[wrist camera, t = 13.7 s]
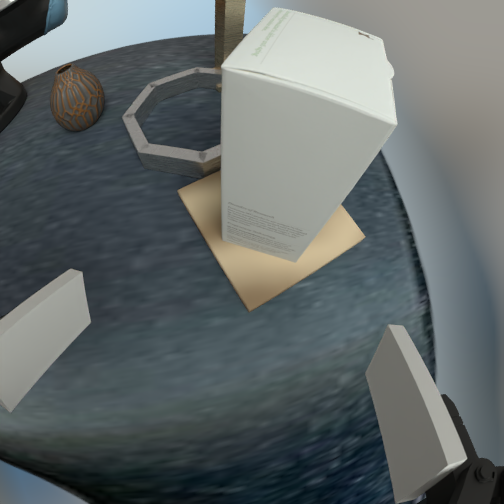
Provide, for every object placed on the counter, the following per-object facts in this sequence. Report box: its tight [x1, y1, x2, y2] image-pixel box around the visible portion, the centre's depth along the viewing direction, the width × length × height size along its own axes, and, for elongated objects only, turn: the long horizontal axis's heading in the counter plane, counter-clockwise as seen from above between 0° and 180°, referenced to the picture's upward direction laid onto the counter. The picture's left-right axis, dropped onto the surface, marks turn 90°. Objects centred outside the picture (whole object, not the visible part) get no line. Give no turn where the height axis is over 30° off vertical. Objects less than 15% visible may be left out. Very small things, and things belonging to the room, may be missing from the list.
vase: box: [50, 63, 104, 131], centre depth 23 cm, size 7×7×9 cm
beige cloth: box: [178, 170, 365, 312], centre depth 24 cm, size 12×12×1 cm
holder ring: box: [122, 0, 246, 179], centre depth 22 cm, size 17×17×14 cm
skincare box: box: [221, 8, 397, 263], centre depth 16 cm, size 8×7×16 cm
